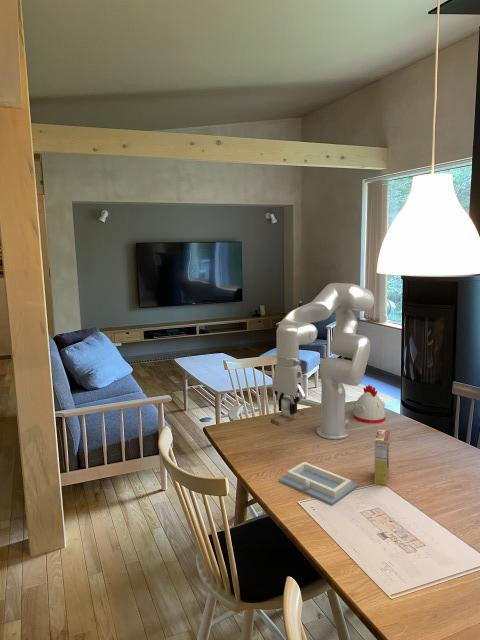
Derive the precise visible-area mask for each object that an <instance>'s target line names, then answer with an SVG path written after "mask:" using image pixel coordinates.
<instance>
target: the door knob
mask: <svg viewBox="0 0 480 640" xmlns="http://www.w3.org/2000/svg"><path fill="white" fill-rule="evenodd" d="M290 404H291V398H290V396H284V397H283V398H282V399H281V411H280V412H281V413H280V415H277V416H274V417H272V418H270V424H272V425H276V426H277V427H280V426H284V425H287V424H289V423H291V422H293V421H296V420H298V419H300V418H303V417H305V411H303V410H299V409H297V413H295V414H293V415H290Z"/></svg>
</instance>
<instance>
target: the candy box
mask: <svg viewBox="0 0 480 640" xmlns="http://www.w3.org/2000/svg"><path fill="white" fill-rule="evenodd" d="M390 433H391V432H390V430H386V429H385V430H384V429H377V431H376V435H375V439H374V479H373V480H374V485H378V486H386V487H387V486H388V482H389V474H390Z"/></svg>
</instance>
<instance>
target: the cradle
mask: <svg viewBox="0 0 480 640" xmlns="http://www.w3.org/2000/svg"><path fill="white" fill-rule="evenodd" d="M278 482H280V483H282V484H284V485H286V486H289V487H290V488H292V489H295V490H297V491H299V492H301V493H304V494H306V495H308V496H309V497H312V498H315V499H317V500H319V501H321V502H324V503H326V504H327V505H330V506H335V504H337V503H338V502H340V501H341V500H342V499H344V498H345V497H346V496H348V495H349V494H350V493H352V492H353V491H354V490H356V489H358V488H359V486H360V484H359V483H356V482H355V481H352V480H351V479H349V478H346V477H343V476H341V475H339V474H336V473H333V472H331V471H328V470H326V469H324V468H321V467H319V466H316V465H314V464H311V463H309V462H306V461H303V462H301V463H299V464H297V465H296V466H294V467H292V468H291V469H288V470H287V471H286V475H284V476H282V477H280V478H278Z"/></svg>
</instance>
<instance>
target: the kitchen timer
mask: <svg viewBox="0 0 480 640" xmlns="http://www.w3.org/2000/svg"><path fill="white" fill-rule="evenodd" d="M362 389H363V392H364V393H363V394H361V395H360V396H359V397H358V399H357V400H356V402H355V403H354V407H353V413H352V417H353V419H354V420H355V421H358V422H360V423H363V424H371V425H372V424H381V423H384V422H385V421H386V410H385V403H384V401H382V399H381V398H380V397H379V395H377V394H378V390H376V387H373V385H371V384H368V385H366V386H365V387H363V388H362Z"/></svg>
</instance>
